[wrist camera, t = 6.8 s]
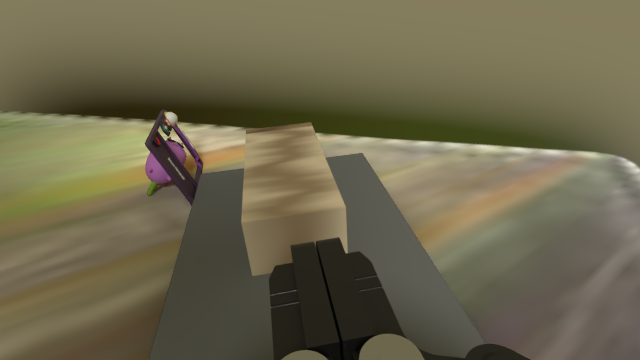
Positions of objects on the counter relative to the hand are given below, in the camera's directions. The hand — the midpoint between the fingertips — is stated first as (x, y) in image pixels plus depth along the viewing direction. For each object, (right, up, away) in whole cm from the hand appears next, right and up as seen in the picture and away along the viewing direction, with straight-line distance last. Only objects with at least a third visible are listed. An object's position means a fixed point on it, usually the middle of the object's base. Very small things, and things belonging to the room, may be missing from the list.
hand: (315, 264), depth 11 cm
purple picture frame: (-14, +2, +24) cm, 27 cm away
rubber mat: (-2, -2, +15) cm, 15 cm away
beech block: (-1, -1, +11) cm, 11 cm away
